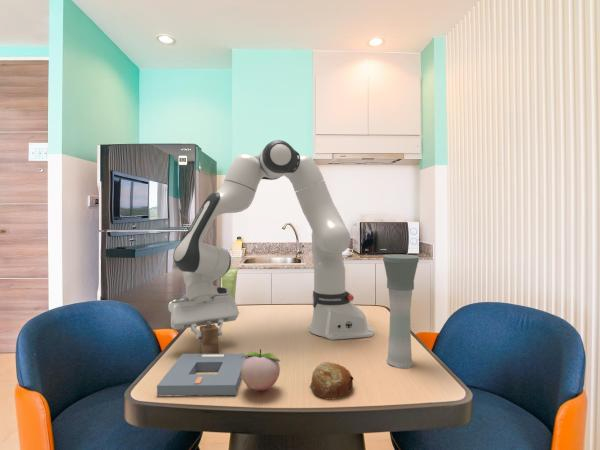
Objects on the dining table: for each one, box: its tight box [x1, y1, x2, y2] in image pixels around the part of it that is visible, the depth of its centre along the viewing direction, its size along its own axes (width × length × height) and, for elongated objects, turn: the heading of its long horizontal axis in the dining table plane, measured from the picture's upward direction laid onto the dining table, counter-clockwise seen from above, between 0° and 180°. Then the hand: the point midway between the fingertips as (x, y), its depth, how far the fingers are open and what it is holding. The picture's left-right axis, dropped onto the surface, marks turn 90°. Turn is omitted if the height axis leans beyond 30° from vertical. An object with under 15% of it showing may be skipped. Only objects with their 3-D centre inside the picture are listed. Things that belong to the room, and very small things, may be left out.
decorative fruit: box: [241, 348, 281, 392], centre depth 81 cm, size 9×8×10 cm
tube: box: [220, 266, 239, 301], centre depth 145 cm, size 6×5×20 cm
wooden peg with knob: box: [199, 319, 220, 354], centre depth 103 cm, size 4×4×10 cm
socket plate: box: [156, 352, 247, 396], centre depth 88 cm, size 18×18×3 cm
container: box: [382, 253, 420, 369], centre depth 97 cm, size 10×10×30 cm
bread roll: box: [309, 361, 354, 400], centre depth 83 cm, size 10×10×8 cm
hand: (209, 336), depth 103 cm, fingers closed on wooden peg with knob, 4 cm apart
